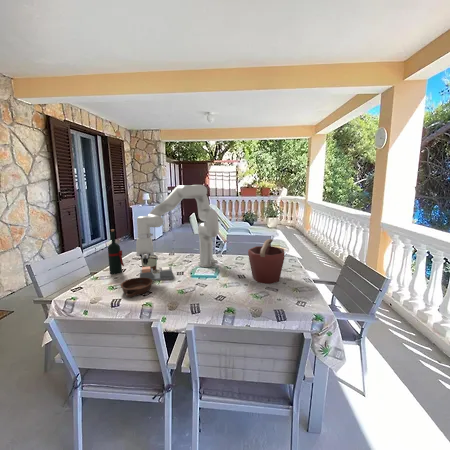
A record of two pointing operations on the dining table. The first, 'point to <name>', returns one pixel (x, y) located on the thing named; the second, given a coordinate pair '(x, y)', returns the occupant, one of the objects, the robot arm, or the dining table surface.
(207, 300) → the dining table surface
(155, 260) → the grey arched window
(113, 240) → the wine bottle
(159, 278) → the key panel
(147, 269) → the key terracotta
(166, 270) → the key cream
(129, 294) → the dish
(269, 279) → the bucket
